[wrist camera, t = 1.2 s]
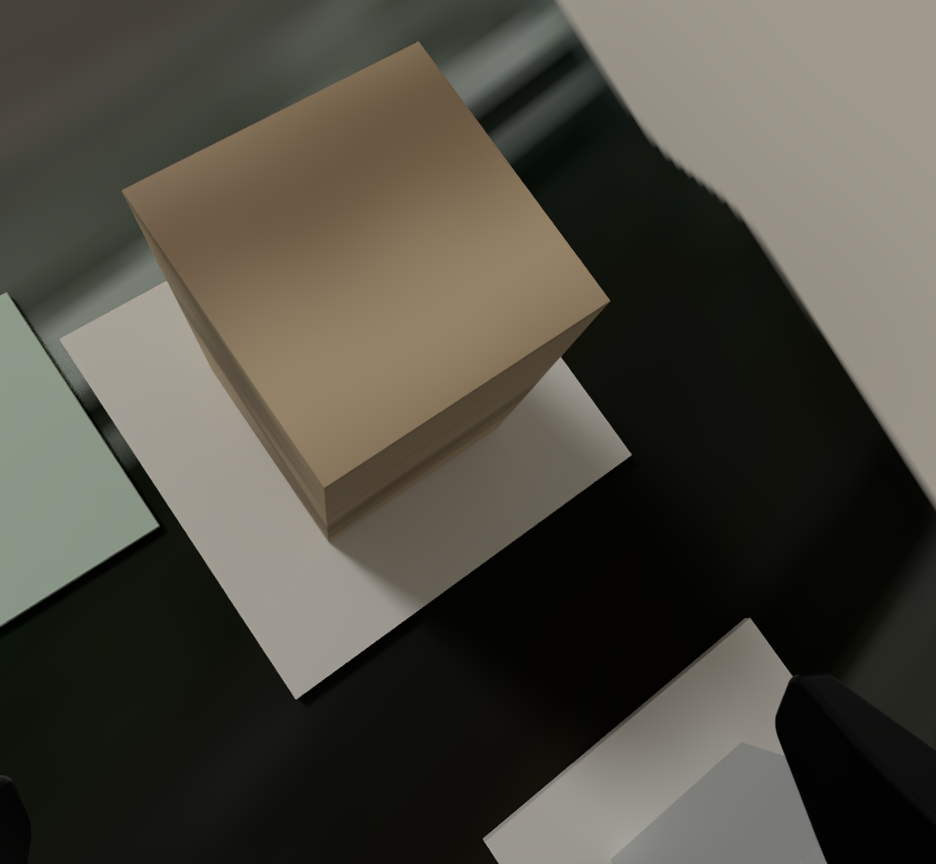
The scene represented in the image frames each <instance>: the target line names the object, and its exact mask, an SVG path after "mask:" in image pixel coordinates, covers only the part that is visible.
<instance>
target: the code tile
mask: <svg viewBox="0 0 936 864" xmlns="http://www.w3.org/2000/svg"><path fill="white" fill-rule="evenodd" d="M59 340H60V341H61V343H62V344H63V346H64V347H65V349H66V350H67V352H68V354H69V355H70V357H71V358H72V360H73V361H74V363H75V364H76V366H77V367H78V369H79V370H80V372H81V373H82V375H83V376H84V378H85V379H86V381H87V382H88V384H89V385H90V387H91V389H92V390H93V392H94V393H95V395H96V396H97V398H98V399H99V401H100V402H101V404H102V405H103V407H104V408H105V410H106V411H107V413H108V414H109V416H110V417H111V419H112V420H113V422H114V423H115V425H116V427H117V428H118V430H119V431H120V433H121V434H122V436H123V437H124V439H125V440H126V442H127V443H128V445H129V446H130V448H131V449H132V451H133V452H134V454H135V455H136V457H137V458H138V460H139V462H140V463H141V465H142V466H143V468H144V469H145V471H146V472H147V474H148V475H149V477H150V478H151V480H152V481H153V483H154V484H155V486H156V487H157V489H158V490H159V492H160V493H161V495H162V496H163V498H164V500H165V501H166V503H167V504H168V506H169V507H170V509H171V510H172V512H173V513H174V515H175V516H176V518H177V519H178V521H179V522H180V524H181V525H182V527H183V528H184V530H185V531H186V533H187V535H188V536H189V538H190V539H191V541H192V542H193V544H194V545H195V547H196V548H197V550H198V551H199V553H200V554H201V556H202V557H203V559H204V560H205V562H206V563H207V565H208V566H209V568H210V569H211V571H212V573H213V574H214V576H215V577H216V579H217V580H218V582H219V583H220V585H221V586H222V588H223V589H224V591H225V592H226V594H227V595H228V597H229V598H230V600H231V601H232V603H233V604H234V606H235V608H236V609H237V611H238V612H239V614H240V615H241V617H242V618H243V620H244V621H245V623H246V624H247V626H248V627H249V629H250V630H251V632H252V633H253V635H254V636H255V638H256V639H257V641H258V642H259V644H260V646H261V647H262V649H263V650H264V652H265V653H266V655H267V656H268V658H269V659H270V661H271V662H272V664H273V665H274V667H275V668H276V670H277V671H278V673H279V674H280V676H281V677H282V679H283V681H284V682H285V684H286V685H287V687H288V688H289V690H290V691H291V693H292V694H293V696H294V697H295V699H297V698H299V697H300V696H301V695H303V694H304V693H306V692H307V691H308V690H310V689H311V688H312V687H314V686H315V685H317V684H318V683H319V682H321V681H322V680H323V679H325V678H326V677H328V676H329V675H330V674H332V673H333V672H334V671H336V670H337V669H338V668H340V667H341V666H343V665H344V664H345V663H347V662H348V661H349V660H351V659H352V658H354V657H355V656H356V655H358V654H359V653H360V652H362V651H363V650H365V649H366V648H367V647H369V646H370V645H371V644H373V643H374V642H376V641H377V640H378V639H380V638H381V637H382V636H384V635H385V634H387V633H388V632H389V631H391V630H392V629H393V628H395V627H396V626H398V625H399V624H400V623H402V622H403V621H404V620H406V619H407V618H409V617H410V616H411V615H413V614H414V613H415V612H417V611H418V610H420V609H421V608H422V607H424V606H425V605H426V604H428V603H429V602H430V601H432V600H433V599H435V598H436V597H437V596H439V595H440V594H441V593H443V592H444V591H446V590H447V589H448V588H450V587H451V586H452V585H454V584H455V583H457V582H458V581H459V580H461V579H462V578H463V577H465V576H466V575H468V574H469V573H470V572H472V571H473V570H474V569H476V568H477V567H479V566H480V565H481V564H483V563H484V562H485V561H487V560H488V559H490V558H491V557H492V556H494V555H495V554H496V553H498V552H499V551H501V550H502V549H503V548H505V547H506V546H507V545H509V544H510V543H512V542H513V541H514V540H516V539H517V538H518V537H520V536H521V535H523V534H524V533H525V532H527V531H528V530H529V529H531V528H532V527H533V526H535V525H536V524H538V523H539V522H540V521H542V520H543V519H544V518H546V517H547V516H549V515H550V514H551V513H553V512H554V511H555V510H557V509H558V508H560V507H561V506H562V505H564V504H565V503H566V502H568V501H569V500H571V499H572V498H573V497H575V496H576V495H577V494H579V493H580V492H582V491H583V490H584V489H586V488H587V487H588V486H590V485H591V484H593V483H594V482H595V481H597V480H598V479H599V478H601V477H602V476H604V475H605V474H606V473H608V472H609V471H610V470H612V469H613V468H615V467H616V466H617V465H619V464H620V463H621V462H623V461H624V460H625V459H627V458H628V457H630V456H631V453H630V452H629V451H628V449H627V448H626V446H625V445H624V444H623V442H622V441H621V440H620V438H619V437H618V435H617V434H616V433H615V431H614V430H613V429H612V427H611V426H610V424H609V423H608V422H607V420H606V419H605V417H604V416H603V415H602V413H601V412H600V411H599V409H598V408H597V406H596V405H595V404H594V402H593V401H592V400H591V398H590V397H589V395H588V394H587V393H586V391H585V390H584V389H583V387H582V386H581V384H580V383H579V382H578V380H577V379H576V378H575V376H574V375H573V373H572V372H571V371H570V369H569V368H568V367H567V365H566V364H565V362H564V361H563V360H562V358H561V357H560V358H559V359H558V360H557V361H556V363H555V364H554V365H553V366H552V367H551V368H550V369H549V371H548V372H547V373H546V374H545V375H544V376H543V377H542V378H541V380H540V381H539V382H538V383H537V384H536V385H535V386H534V387H533V389H532V390H531V391H530V392H529V393H528V394H527V395H526V397H525V398H524V399H523V400H522V401H521V402H520V403H519V404H518V406H517V407H516V408H515V409H514V410H513V411H512V412H511V413H510V415H509V416H508V417H507V418H506V419H505V420H504V421H503V423H502V424H501V425H500V426H499V427H498V428H497V429H495V430H494V431H492V432H491V433H489V434H488V435H486V436H485V437H483V438H482V439H480V440H479V441H477V442H476V443H474V444H473V445H471V446H470V447H469V448H467V449H466V450H464V451H463V452H461V453H460V454H458V455H457V456H455V457H454V458H452V459H451V460H449V461H448V462H446V463H445V464H443V465H442V466H440V467H439V468H437V469H436V470H435V471H433V472H432V473H430V474H429V475H427V476H426V477H424V478H423V479H421V480H420V481H418V482H417V483H415V484H414V485H412V486H411V487H409V488H408V489H406V490H405V491H404V492H402V493H401V494H399V495H398V496H396V497H395V498H393V499H392V500H390V501H389V502H387V503H386V504H384V505H383V506H381V507H380V508H378V509H377V510H375V511H374V512H372V513H371V514H370V515H368V516H367V517H365V518H364V519H362V520H361V521H359V522H358V523H356V524H355V525H353V526H352V527H350V528H349V529H347V530H346V531H344V532H343V533H341V534H340V535H338V536H337V537H336V538H334V539H333V540H331V541H330V542H328V541H327V540H326V538H325V537H324V535H323V534H322V532H321V531H320V529H319V528H318V526H317V525H316V523H315V522H314V520H313V519H312V517H311V516H310V514H309V513H308V511H307V510H306V508H305V507H304V506H303V504H302V503H301V501H300V500H299V498H298V497H297V495H296V494H295V492H294V491H293V489H292V488H291V486H290V485H289V483H288V482H287V480H286V479H285V477H284V476H283V474H282V473H281V471H280V470H279V469H278V467H277V466H276V464H275V463H274V461H273V460H272V458H271V457H270V455H269V454H268V452H267V451H266V449H265V448H264V446H263V445H262V443H261V442H260V440H259V439H258V437H257V436H256V434H255V433H254V432H253V430H252V429H251V427H250V426H249V424H248V423H247V421H246V420H245V418H244V417H243V415H242V414H241V412H240V411H239V409H238V408H237V406H236V405H235V403H234V402H233V400H232V399H231V398H230V396H229V395H228V393H227V392H226V390H225V389H224V387H223V386H222V384H221V383H220V381H219V380H218V378H217V377H216V375H215V374H214V372H213V371H212V369H211V367H210V365H209V363H208V361H207V359H206V357H205V355H204V353H203V351H202V349H201V347H200V345H199V343H198V342H197V340H196V338H195V336H194V334H193V332H192V330H191V328H190V326H189V324H188V322H187V320H186V318H185V316H184V314H183V312H182V310H181V308H180V306H179V304H178V302H177V300H176V298H175V296H174V294H173V292H172V290H171V288H170V286H169V284H168V282H167V281H166V282H164V283H162V284H160V285H158V286H156V287H155V288H153V289H151V290H149V291H147V292H145V293H143V294H142V295H140V296H138V297H136V298H134V299H132V300H131V301H129V302H127V303H125V304H123V305H121V306H120V307H118V308H116V309H114V310H112V311H110V312H108V313H107V314H105V315H103V316H101V317H99V318H97V319H96V320H94V321H92V322H90V323H88V324H86V325H84V326H83V327H81V328H79V329H77V330H75V331H73V332H72V333H70V334H68V335H66V336H64V337H62V338H60V339H59Z"/></svg>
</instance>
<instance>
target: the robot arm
mask: <svg viewBox="0 0 936 864" xmlns="http://www.w3.org/2000/svg"><path fill="white" fill-rule="evenodd" d="M775 729H776V733H777V737H778V740H779V742H780V745H781V747H782V750H783V753H784V755H785V758H786V761H787V763H788V766H789V768H790V771H791V774H792V776H793V779H794V782H795V784H796V787H797V789H798V792H799V795H800V797H801V800H802V803H803V805H804V808H805V810H806V813H807V816H808V818H809V821H810V823H811V826H812V829H813V831H814V834H815V837H816V839H817V841H818V844H819V846H820V849H821V851H822V853H823V856H824V858H825V860H826V862H827V864H936V750H935V749H934V748H932V747H931V746H930V745H928V744H927V743H925V742H924V741H923V740H921V739H920V738H918V737H917V736H916V735H914V734H913V733H911V732H910V731H909V730H907V729H906V728H904V727H903V726H901V725H900V724H899V723H897V722H896V721H894V720H893V719H892V718H890V717H889V716H887V715H886V714H885V713H883V712H882V711H880V710H879V709H878V708H876V707H875V706H873V705H872V704H871V703H869V702H868V701H866V700H865V699H864V698H862V697H861V696H859V695H858V694H857V693H855V692H854V691H852V690H851V689H850V688H848V687H847V686H845V685H844V684H843V683H841V682H840V681H838V680H837V679H836V678H834V677H833V676H831V675H829V674H827V673H824V672H813V673H805V674H797V675H795V676H793V677H792V678H791V679H790V681H789V682H788V685H787V687H786V690H785V692H784V695H783V698H782V700H781V703H780V705H779V708H778V710H777V713H776V716H775ZM30 841H31V825H30V820H29V817H28V814H27V812H26V810H25V807H24V805H23V803H22V800H21V798H20V796H19V793H18V791H17V789H16V786H15V784H14V782H13V781H12V779H11V778H9V777H7V776H0V864H27V861H28V855H29V848H30Z"/></svg>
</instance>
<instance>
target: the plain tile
mask: <svg viewBox="0 0 936 864" xmlns="http://www.w3.org/2000/svg"><path fill="white" fill-rule="evenodd" d="M792 677H793V676H792V675H791V674H790V672H789V671H788V670H787V668H786V667H785V665H784V664H783V663H782V661H781V660H780V659H779V657H778V656H777V654H776V653H775V652H774V650H773V649H772V648H771V646H770V645H769V643H768V642H767V641H766V639H765V638H764V637H763V635H762V634H761V632H760V631H759V630H758V628H757V627H756V626H755V624H754V623H753V621H752V620H751V619H750V618H745V619H744V620H742V621H741V622H740V623H739V624H738V625H736V626H735V627H734V628H733V629H732V630H730V631H729V632H728V633H727V634H726V635H725V636H723V637H722V638H721V639H720V640H719V641H717V642H716V643H715V644H714V645H713V646H711V647H710V648H709V649H708V650H707V651H706V652H704V653H703V654H702V655H701V656H700V657H698V658H697V659H696V660H695V661H694V662H692V663H691V664H690V665H689V666H688V667H687V668H685V669H684V670H683V671H682V672H681V673H679V674H678V675H677V676H676V677H675V678H673V679H672V680H671V681H670V682H669V683H667V684H666V685H665V686H664V687H663V688H662V689H660V690H659V691H658V692H657V693H656V694H654V695H653V696H652V697H651V698H650V699H648V700H647V701H646V702H645V703H644V704H643V705H641V706H640V707H639V708H638V709H637V710H635V711H634V712H633V713H632V714H631V715H629V716H628V717H627V718H626V719H625V720H623V721H622V722H621V723H620V724H619V725H618V726H616V727H615V728H614V729H613V730H612V731H610V732H609V733H608V734H607V735H606V736H604V737H603V738H602V739H601V740H600V741H599V742H597V743H596V744H595V745H594V746H593V747H591V748H590V749H589V750H588V751H587V752H585V753H584V754H583V755H582V756H581V757H580V758H578V759H577V760H576V761H575V762H574V763H572V764H571V765H570V766H569V767H568V768H566V769H565V770H564V771H563V772H562V773H560V774H559V775H558V776H557V777H556V778H555V779H553V780H552V781H551V782H550V783H549V784H547V785H546V786H545V787H544V788H543V789H541V790H540V791H539V792H538V793H537V794H536V795H534V796H533V797H532V798H531V799H530V800H528V801H527V802H526V803H525V804H524V805H522V806H521V807H520V808H519V809H518V810H516V811H515V812H514V813H513V814H512V815H511V816H509V817H508V818H507V819H506V820H505V821H503V822H502V823H501V824H500V825H499V826H497V827H496V828H495V829H494V830H493V831H492V832H490V833H489V834H488V835H487V836H486V837H484V838H483V840H484V842H485V843H486V845H487V846H488V848H489V849H490V851H491V852H492V854H493V855H494V857H495V858H496V860H497V861H498V863H499V864H613V862H612V861H611V858H612V857H614V856H615V855H616V854H617V853H618V852H619V851H620V850H621V849H623V848H624V847H625V846H626V845H627V844H628V843H629V842H630V841H631V840H633V839H634V838H635V837H636V836H637V835H638V834H639V833H640V832H641V831H643V830H644V829H645V828H646V827H647V826H648V825H649V824H650V823H652V822H653V821H654V820H655V819H656V818H657V817H658V816H659V815H660V814H662V813H663V812H664V811H665V810H666V809H667V808H668V807H669V806H671V805H672V804H673V803H674V802H675V801H676V800H677V799H678V798H679V797H681V796H682V795H683V794H684V793H685V792H686V791H687V790H688V789H689V788H691V787H692V786H693V785H694V784H695V783H696V782H697V781H698V780H700V779H701V778H702V777H703V776H704V775H705V774H706V773H707V772H708V771H710V770H711V769H712V768H713V767H714V766H715V765H716V764H717V763H718V762H720V761H721V760H722V759H723V758H724V757H725V756H726V755H727V754H729V753H730V752H731V751H732V750H733V749H734V748H735V747H736V746H737V745H739V744H740V743H741V742H742V743H746V744H749V745H752V746H755V747H758V748H761V749H764V750H768V751H771V752H774V753H777V754H780V755H783V756H785V755H784V753H783V750H782V747H781V745H780V742H779V740H778V737H777V733H776V729H775V716H776V713H777V710H778V708H779V705H780V703H781V700H782V698H783V695H784V692H785V690H786V687H787V685H788V682H789V681H790V679H791V678H792Z"/></svg>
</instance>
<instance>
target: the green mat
mask: <svg viewBox="0 0 936 864" xmlns="http://www.w3.org/2000/svg"><path fill="white" fill-rule="evenodd" d="M159 527H160V525H159V523H158V522H157V520H156V519H155V517H154V516H153V514H152V513H151V511H150V510H149V508H148V507H147V505H146V504H145V502H144V501H143V499H142V497H141V496H140V494H139V493H138V491H137V490H136V488H135V487H134V485H133V484H132V482H131V481H130V479H129V478H128V476H127V475H126V473H125V471H124V470H123V468H122V467H121V465H120V464H119V462H118V461H117V459H116V458H115V456H114V455H113V453H112V452H111V450H110V449H109V447H108V446H107V444H106V442H105V441H104V439H103V438H102V436H101V435H100V433H99V432H98V430H97V429H96V427H95V426H94V424H93V423H92V421H91V420H90V418H89V416H88V415H87V413H86V412H85V410H84V409H83V407H82V406H81V404H80V403H79V401H78V400H77V398H76V397H75V395H74V394H73V392H72V391H71V389H70V387H69V386H68V384H67V383H66V381H65V380H64V378H63V377H62V375H61V374H60V372H59V371H58V369H57V368H56V366H55V365H54V363H53V361H52V360H51V358H50V357H49V355H48V354H47V352H46V351H45V349H44V348H43V346H42V345H41V343H40V342H39V340H38V339H37V337H36V336H35V334H34V332H33V331H32V329H31V328H30V326H29V325H28V323H27V322H26V320H25V319H24V317H23V316H22V314H21V313H20V311H19V310H18V308H17V306H16V305H15V303H14V302H13V300H12V299H11V297H10V296H9V295H8V294H7V293H5V294H3V295H1V296H0V627H2V626H3V625H5V624H6V623H8V622H10V621H11V620H13V619H14V618H16V617H17V616H19V615H21V614H22V613H24V612H25V611H27V610H29V609H30V608H32V607H33V606H35V605H37V604H38V603H40V602H41V601H43V600H44V599H46V598H48V597H49V596H51V595H52V594H54V593H56V592H57V591H59V590H60V589H62V588H64V587H65V586H67V585H68V584H70V583H71V582H73V581H75V580H76V579H78V578H79V577H81V576H83V575H84V574H86V573H87V572H89V571H91V570H92V569H94V568H95V567H97V566H98V565H100V564H102V563H103V562H105V561H106V560H108V559H110V558H111V557H113V556H114V555H116V554H118V553H119V552H121V551H122V550H124V549H125V548H127V547H129V546H130V545H132V544H133V543H135V542H137V541H138V540H140V539H141V538H143V537H145V536H146V535H148V534H149V533H151V532H152V531H154V530H156V529H157V528H159Z"/></svg>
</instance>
